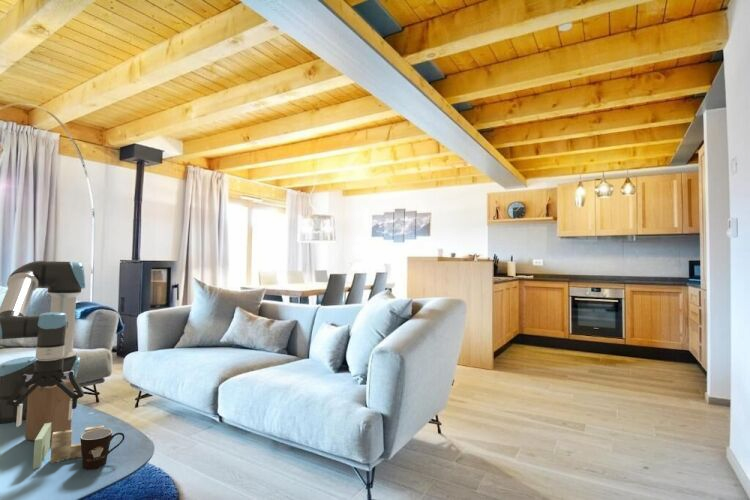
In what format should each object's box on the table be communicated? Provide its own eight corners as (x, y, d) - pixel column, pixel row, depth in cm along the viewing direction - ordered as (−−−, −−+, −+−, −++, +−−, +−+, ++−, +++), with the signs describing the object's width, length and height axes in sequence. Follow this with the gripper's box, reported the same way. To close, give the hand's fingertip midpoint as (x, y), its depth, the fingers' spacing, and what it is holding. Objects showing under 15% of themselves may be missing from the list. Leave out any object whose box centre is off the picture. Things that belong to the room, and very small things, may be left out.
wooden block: (45, 443, 141) (49, 387, 142) (23, 440, 143) (27, 384, 144) (71, 432, 151) (75, 380, 152) (50, 429, 153) (54, 377, 154)
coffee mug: (73, 473, 124) (75, 440, 124) (84, 459, 132) (86, 429, 132) (115, 469, 127) (117, 437, 127) (124, 456, 135) (126, 426, 136)
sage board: (43, 449, 137) (44, 423, 138) (49, 448, 138) (51, 422, 139) (32, 468, 125) (34, 439, 126) (40, 467, 126) (42, 438, 126)
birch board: (49, 463, 129) (51, 435, 129) (52, 458, 132) (54, 430, 132) (101, 455, 135) (103, 428, 136) (102, 449, 139) (104, 424, 139)
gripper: (-3, 364, 125) (-9, 432, 124) (93, 357, 137) (88, 419, 136) (4, 359, 131) (-1, 423, 130) (95, 353, 144) (91, 412, 143)
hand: (45, 421), depth 133 cm, fingers open, 13 cm apart
